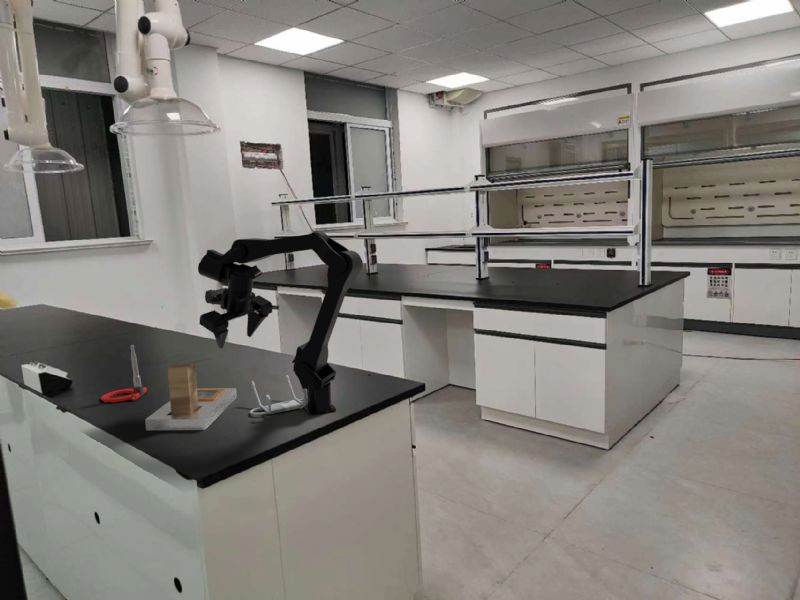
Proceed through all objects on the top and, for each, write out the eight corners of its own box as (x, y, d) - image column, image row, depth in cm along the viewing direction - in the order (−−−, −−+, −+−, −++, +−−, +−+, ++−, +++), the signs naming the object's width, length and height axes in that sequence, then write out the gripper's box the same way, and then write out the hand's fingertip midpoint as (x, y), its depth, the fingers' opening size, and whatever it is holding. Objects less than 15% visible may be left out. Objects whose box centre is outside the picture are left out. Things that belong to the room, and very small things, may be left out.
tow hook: (95, 405, 139) (135, 402, 140) (87, 352, 137) (128, 348, 138) (110, 394, 148) (149, 391, 149) (103, 344, 146) (142, 341, 147)
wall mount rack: (256, 421, 125) (254, 396, 124) (240, 405, 136) (238, 382, 135) (320, 407, 133) (319, 384, 132) (299, 394, 144) (298, 372, 143)
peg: (191, 424, 124) (187, 368, 122) (172, 424, 124) (167, 368, 122) (199, 417, 128) (195, 363, 126) (180, 417, 128) (176, 363, 126)
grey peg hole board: (204, 430, 120) (203, 417, 120) (146, 430, 121) (145, 418, 120) (236, 397, 142) (236, 386, 142) (186, 397, 142) (186, 387, 142)
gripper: (247, 267, 145) (242, 318, 152) (186, 284, 130) (183, 339, 137) (277, 284, 140) (270, 335, 147) (217, 303, 125) (212, 360, 132)
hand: (235, 342), depth 141 cm, fingers open, 9 cm apart
